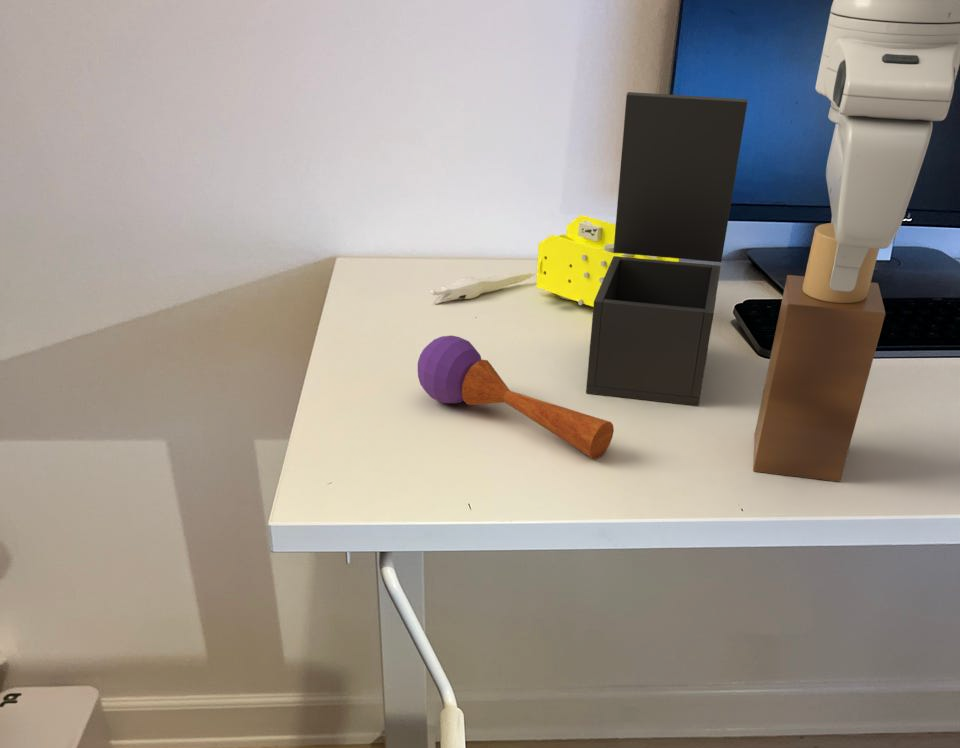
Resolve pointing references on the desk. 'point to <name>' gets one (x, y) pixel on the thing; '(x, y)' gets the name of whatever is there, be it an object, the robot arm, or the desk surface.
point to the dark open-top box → (652, 330)
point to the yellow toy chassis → (579, 259)
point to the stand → (815, 382)
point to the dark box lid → (677, 175)
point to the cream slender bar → (476, 286)
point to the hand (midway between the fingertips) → (838, 275)
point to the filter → (822, 263)
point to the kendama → (502, 394)
